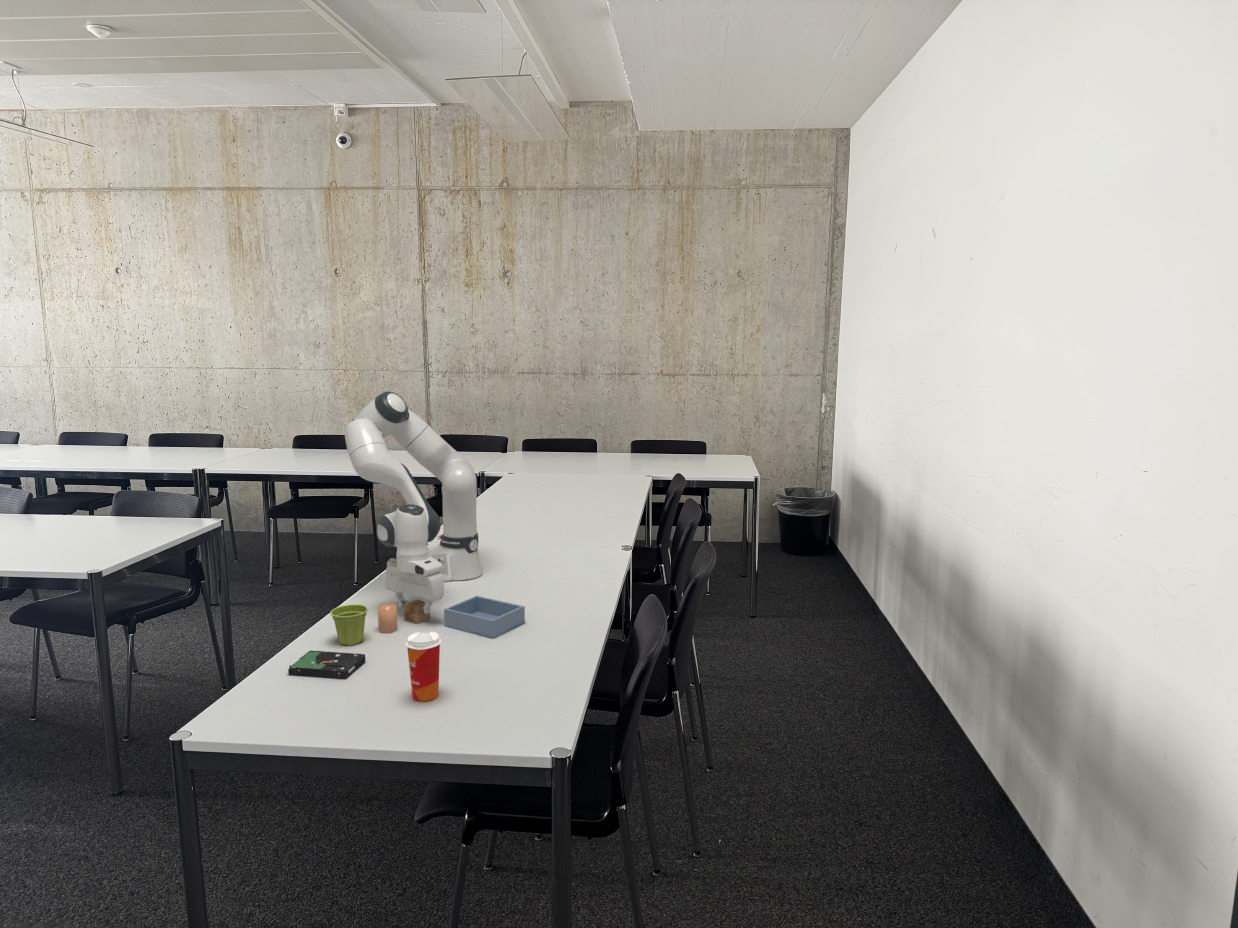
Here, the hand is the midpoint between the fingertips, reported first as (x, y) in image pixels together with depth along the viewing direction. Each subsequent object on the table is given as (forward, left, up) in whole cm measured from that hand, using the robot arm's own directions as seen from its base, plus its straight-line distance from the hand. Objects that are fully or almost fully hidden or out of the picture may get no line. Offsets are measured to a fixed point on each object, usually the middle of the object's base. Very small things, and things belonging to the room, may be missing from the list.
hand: (414, 609), depth 222 cm
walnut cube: (+1, +1, -3) cm, 3 cm away
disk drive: (+7, -35, -4) cm, 36 cm away
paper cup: (+38, -34, -3) cm, 51 cm away
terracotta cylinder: (0, -9, -3) cm, 10 cm away
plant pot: (-2, -21, -3) cm, 21 cm away
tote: (+20, +8, -3) cm, 21 cm away
